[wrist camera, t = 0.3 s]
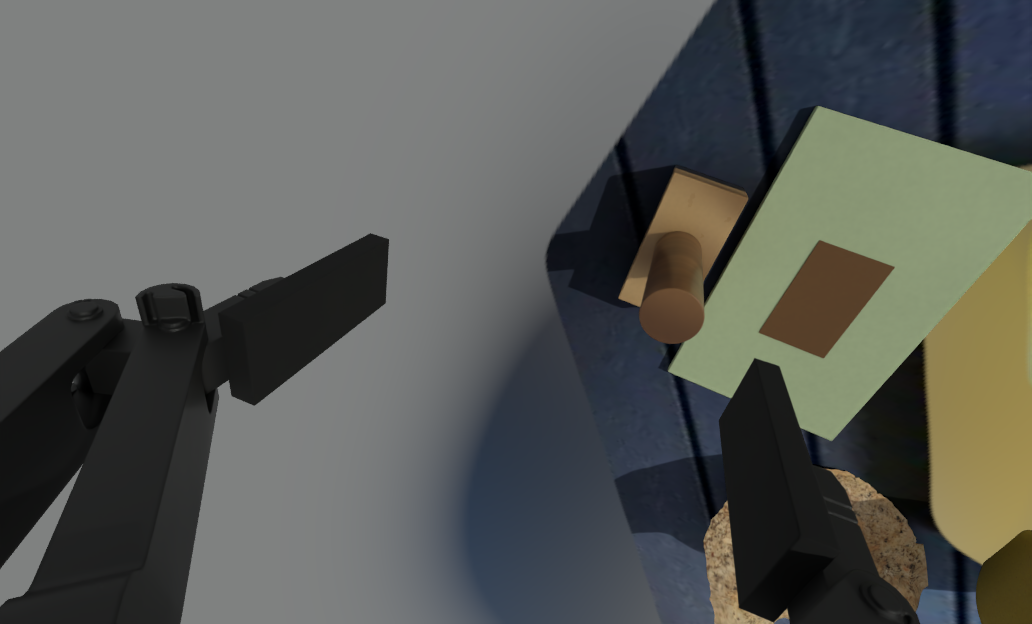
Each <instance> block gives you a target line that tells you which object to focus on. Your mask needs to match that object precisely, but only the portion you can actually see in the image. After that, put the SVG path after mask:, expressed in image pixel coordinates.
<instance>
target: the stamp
mask: <svg viewBox="0 0 1032 624" xmlns="http://www.w3.org/2000/svg"><path fill="white" fill-rule="evenodd" d="M747 201H748V196H747V194H746V192H745V190H744V188H743V187H740V186H737V185H734V184H731V183H728V182H725V181H723V180H720V179H717V178H714V177H711V176H708V175H705V174H702V173H700V172H697V171H694V170H691V169H688V168H685V167H682V166H679V165H675V168H674V170H673V172H672V174H671V177H670V179H669V181H668V183H667V186H666V188H665V190H664V192H663V195H662V197H661V199H660V201H659V204H658V206H657V208H656V210H655V213H654V215H653V217H652V219H651V222H650V224H649V226H648V228H647V231H646V233H645V235H644V237H643V240H642V242H641V244H640V247H639V249H638V251H637V253H636V256H635V258H634V260H633V262H632V265H631V267H630V269H629V271H628V274H627V276H626V278H625V280H624V283H623V286H622V288H621V291H620V294H619V297H618V298H619V299H621V300H624V301H626V302H629V303H631V304H633V305H636V306H638V307H640V310H639V320H640V323H641V326H642V328H643V329H644V331H645V332H646V333H647V334H648V335H649V336H650V337H652V338H653V339H655V340H657V341H660V342H663V343H668V344H677V343H682V342H685V341H688V340H690V339H691V338H693V337H694V336H695V335H697V333H698V332H699V331H700V330H701V328H702V326H703V323H704V318H705V315H704V290H703V281H704V279H705V278H706V276H707V274H708V272H709V270H710V268H711V267H712V265H713V263H714V261H715V259H716V257H717V256H718V254H719V252H720V250H721V248H722V247H723V245H724V243H725V241H726V239H727V237H728V236H729V234H730V232H731V230H732V228H733V226H734V225H735V223H736V221H737V219H738V217H739V215H740V214H741V212H742V210H743V208H744V206H745V204H746V203H747Z"/></svg>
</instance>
